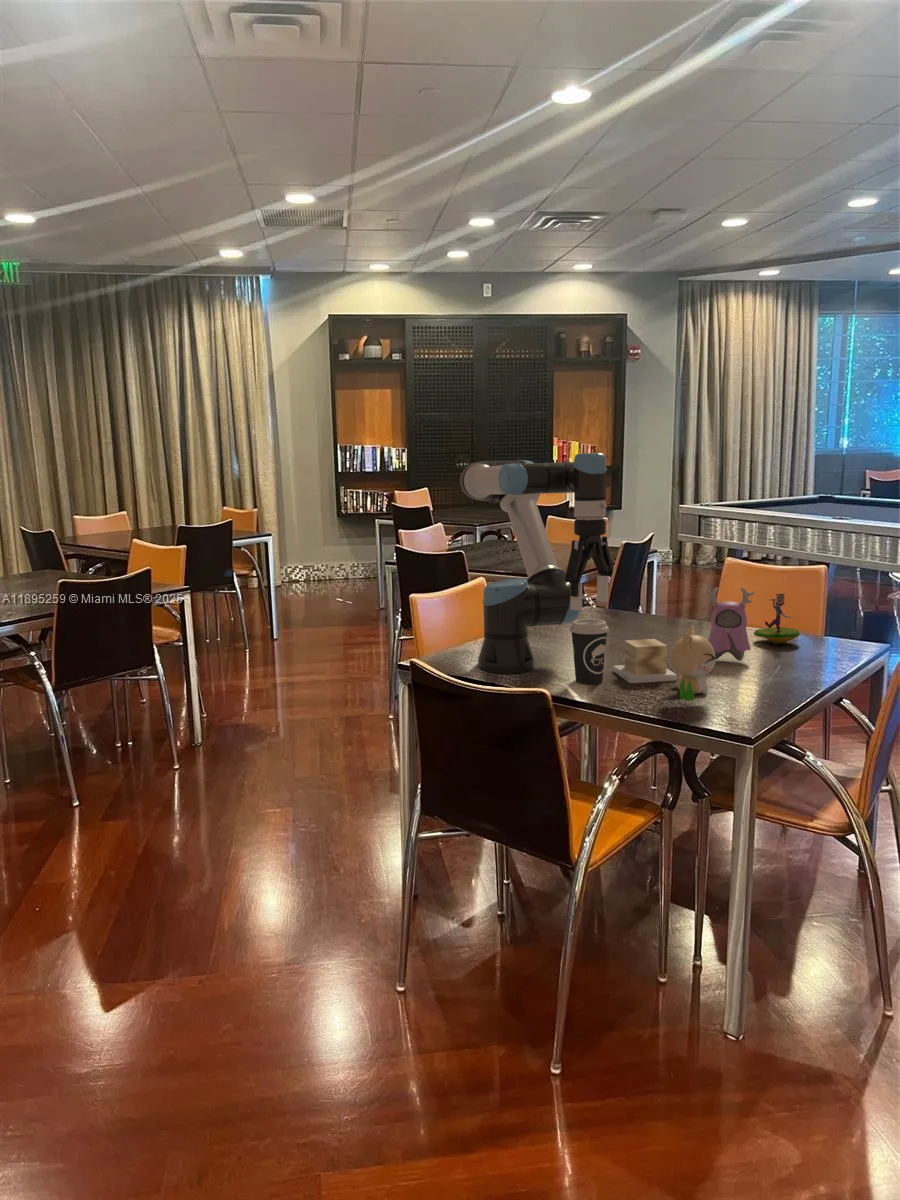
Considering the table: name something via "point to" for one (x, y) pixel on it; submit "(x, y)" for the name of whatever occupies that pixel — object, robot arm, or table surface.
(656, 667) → the maple brick
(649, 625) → the table surface
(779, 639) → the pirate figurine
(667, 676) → the grey tile
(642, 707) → the table surface
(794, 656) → the table surface
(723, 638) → the toy character
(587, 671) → the coffee cup
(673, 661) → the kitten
